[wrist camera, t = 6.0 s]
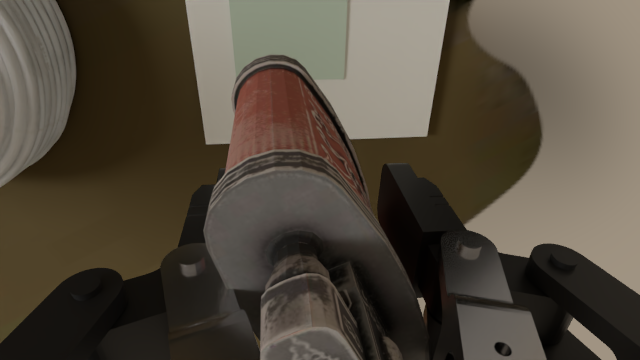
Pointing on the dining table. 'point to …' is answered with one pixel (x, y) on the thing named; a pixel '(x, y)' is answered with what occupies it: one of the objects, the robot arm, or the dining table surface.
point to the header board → (325, 57)
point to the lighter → (305, 229)
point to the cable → (33, 81)
